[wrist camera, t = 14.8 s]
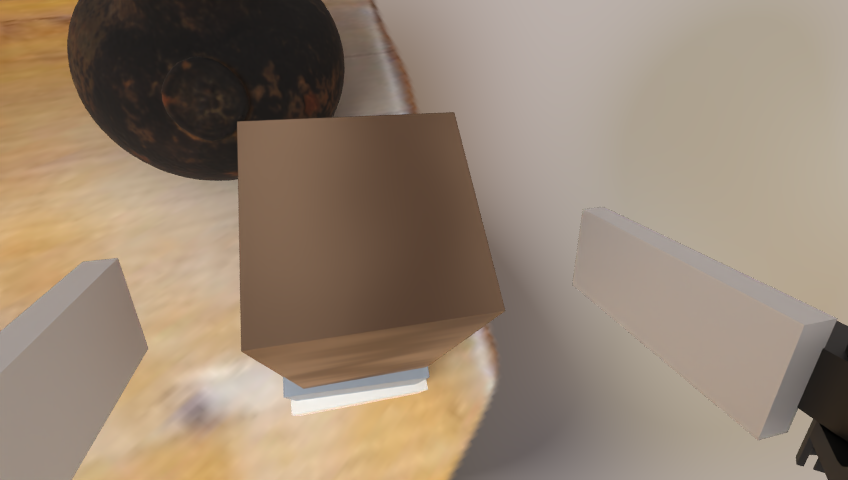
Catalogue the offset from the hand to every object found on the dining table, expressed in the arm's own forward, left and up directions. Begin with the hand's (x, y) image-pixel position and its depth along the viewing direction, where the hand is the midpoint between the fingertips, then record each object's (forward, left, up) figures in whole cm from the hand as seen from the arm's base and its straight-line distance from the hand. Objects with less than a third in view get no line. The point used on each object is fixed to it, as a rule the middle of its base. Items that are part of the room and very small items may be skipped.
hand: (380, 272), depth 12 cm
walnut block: (-1, 0, -10) cm, 10 cm away
